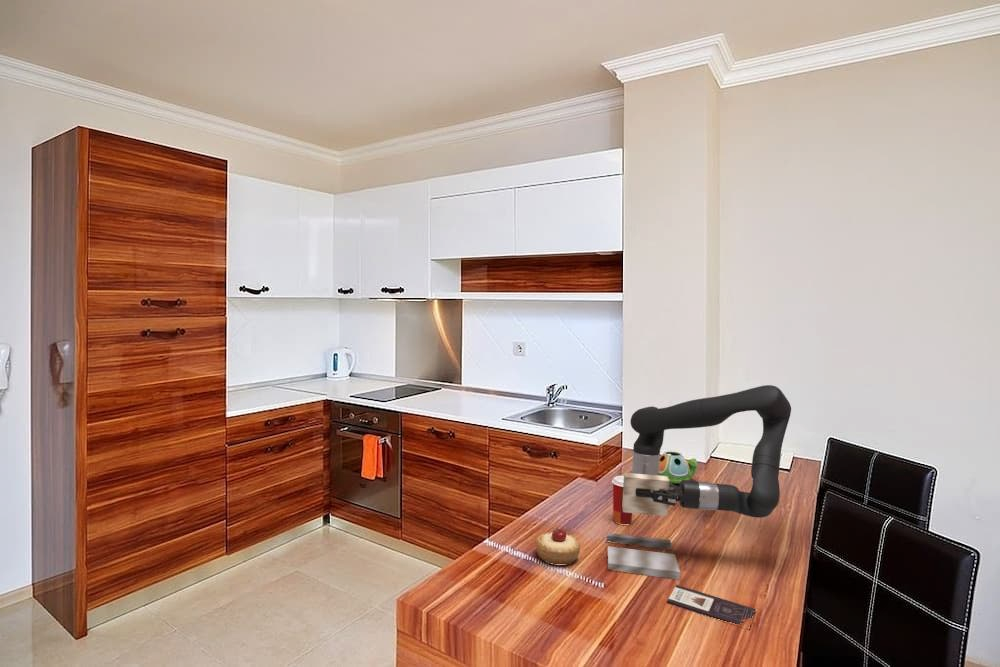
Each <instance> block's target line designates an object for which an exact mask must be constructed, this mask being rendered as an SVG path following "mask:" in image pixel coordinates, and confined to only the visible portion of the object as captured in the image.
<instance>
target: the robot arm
mask: <svg viewBox="0 0 1000 667" xmlns="http://www.w3.org/2000/svg"><path fill="white" fill-rule="evenodd" d="M747 411H748V412H749V411H751V412H752V411H755V412H756V413H757V414H758V415H759V417H760V418H761V419H762V436H761V438H760V440H759V441H758V442H757V444H756V446H755V447H754V450H753V453H752V460H751V468H750V470H751V471H750V474H751V478H752V486H751V490H750V492H745V491H741V490H739V488H738V487H737V486H736V485H733V484H725V483H714V482H710V481H699V480H690V479H689V480H681V482H680V483H679V485H676V484H675V483H671V484H670V482H669V489H666V488H659V489H651V490H650V489H642V488H636V496H637V497H646V498H649V497H650V499H653V501H654V502H658V503H663V504H668V506H676V505H677V504H676V503H677V502H679V505H680V507H681V508H683V509H693V510H701V511H702V510H703V511H704V510H705V511H722V512H723V511H724V512H725V511H726V512H734V513H736V514H739V515H743V516H746V517H749V518H757V519H759V518H760V519H761V518H767V517H768V516H770V515H771V514H772V512H774V510H775V509H776V508H777V506H778V505H779V502H780V497H781V496H780V495H781V492H780V490H781V488H780V481H779V475H780V465H781V464H780V463H781V457H782V456H781V455H782V448H783V443H784V439H785V434H786V430H787V428H788V424H789V421H790V419H791V418H790V417H791V413H792V406H791V403H790V401H789V400H788V398H787V397H786V396H785V394H784V393H783V391H782V390H781V389H780V388H779V387H778V386H775V385H772V384H769V385H766V384H765V385H760V386H755V387H752V388H748V389H744V390H741V391H737V392H733V393H728V394H723V395H722V394H721V395H718V396H711V397H704V398H697V399H696V398H695V399H692V400H688V401H685V402H681V403H677V404H674V405H671V406H668V407H661V408H658V407H656V406H648V407H646V406H645V407H643V408H639V409H637V410H635V412H634V413H633V414H632V415H631V418H630V421H629V422H630V426H631V428H632V429H633V430H634V432H636V433H637V434H638V437H637V439H636V440H635V442H634V443H633V450H632V468H631V470H630V471H629V473H634V474H646V475H657V476H659V460H660V456H661V449H662V447H663V443H664V436H665V431H667V430H675V429H677V430H679V429H680V430H681V429H697V428H698V429H699V428H707V427H714V426H718V425H720V424H722V423H723V422H724V421H726V420H727V419H728V418H730V417H731V416H733V415H735V414H738V413H743V412H747ZM662 492H663V493H662Z"/></svg>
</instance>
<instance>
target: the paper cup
mask: <svg viewBox="0 0 1000 667" xmlns="http://www.w3.org/2000/svg"><path fill="white" fill-rule="evenodd" d="M611 483H612V515H613V517H612V518H613V520H614V521H615V522H617V523H620V524H630V523H631V524H632V519H633V513H627V512H623V508H622V502H623V484H624V475H616V476H614V477H613V478H612V480H611ZM613 520H612V521H613ZM614 521H613V522H614ZM615 522H614V523H615ZM631 524H630V525H631Z"/></svg>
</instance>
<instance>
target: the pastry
mask: <svg viewBox="0 0 1000 667" xmlns="http://www.w3.org/2000/svg"><path fill="white" fill-rule="evenodd" d="M580 548H581V544H580V542H579V540H578V539H576V536H572V534H567V532H566V530H564V529H562V528H559V527H555V528H553V529H552V530H550V532H549V531H547V532H545V533H541V534H540V535H538V536H537V537H536V540H535V550H536V553H537V554H538V558H541V559H543V560H544V561H547V562H549V563H553V564H569V563H571V564H573V563H574V562H575V561H576V560H577V558H578V557H579V554H580V550H581V549H580ZM541 559H540V560H541ZM543 560H542V561H543ZM544 561H543V562H544ZM572 562H573V563H572ZM569 565H570V564H569Z"/></svg>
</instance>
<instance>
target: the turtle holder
mask: <svg viewBox="0 0 1000 667" xmlns="http://www.w3.org/2000/svg"><path fill="white" fill-rule="evenodd" d="M697 468H699V463H698V461H697V459H696V458H691V459H689V460H688V461H687V459H686V458H685V456H683V454H682V453H680V452H678V451H671V450H669V451H663V453H662V454H660V460H659V476H668V479H669V481H670V484H680V482H681V480H690V479H692V477H693V476H694V475H695V473H696V469H697Z"/></svg>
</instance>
